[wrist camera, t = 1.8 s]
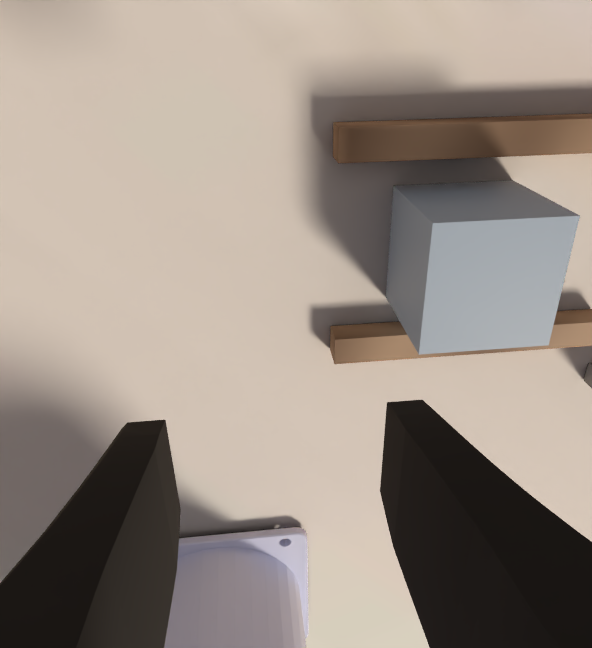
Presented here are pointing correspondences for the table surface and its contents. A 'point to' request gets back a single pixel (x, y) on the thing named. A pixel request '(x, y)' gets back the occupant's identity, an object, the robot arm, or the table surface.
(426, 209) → the block
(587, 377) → the grey flat u-shaped frame
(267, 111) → the table surface
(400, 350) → the slot holder
